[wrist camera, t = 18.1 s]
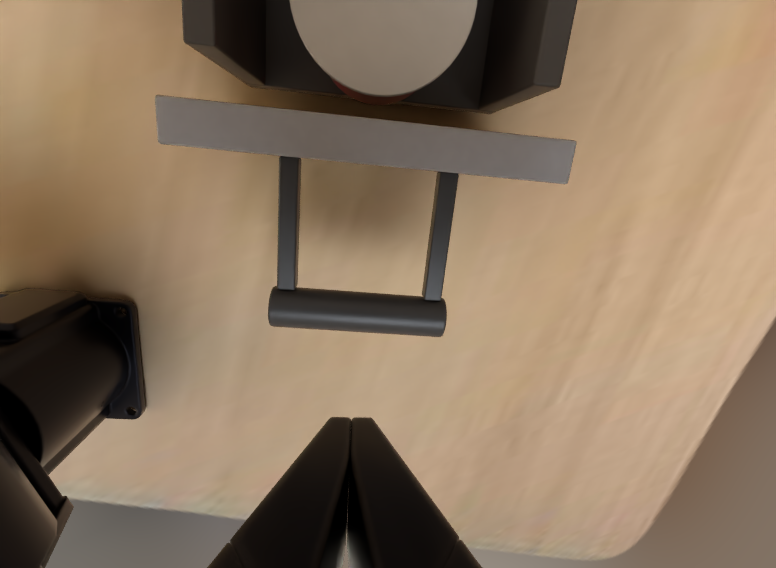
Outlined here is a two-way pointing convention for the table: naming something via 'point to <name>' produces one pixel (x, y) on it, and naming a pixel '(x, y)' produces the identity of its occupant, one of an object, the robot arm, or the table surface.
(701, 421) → the table surface
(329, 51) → the coffee pod
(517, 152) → the pod drawer
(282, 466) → the table surface
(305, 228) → the table surface
